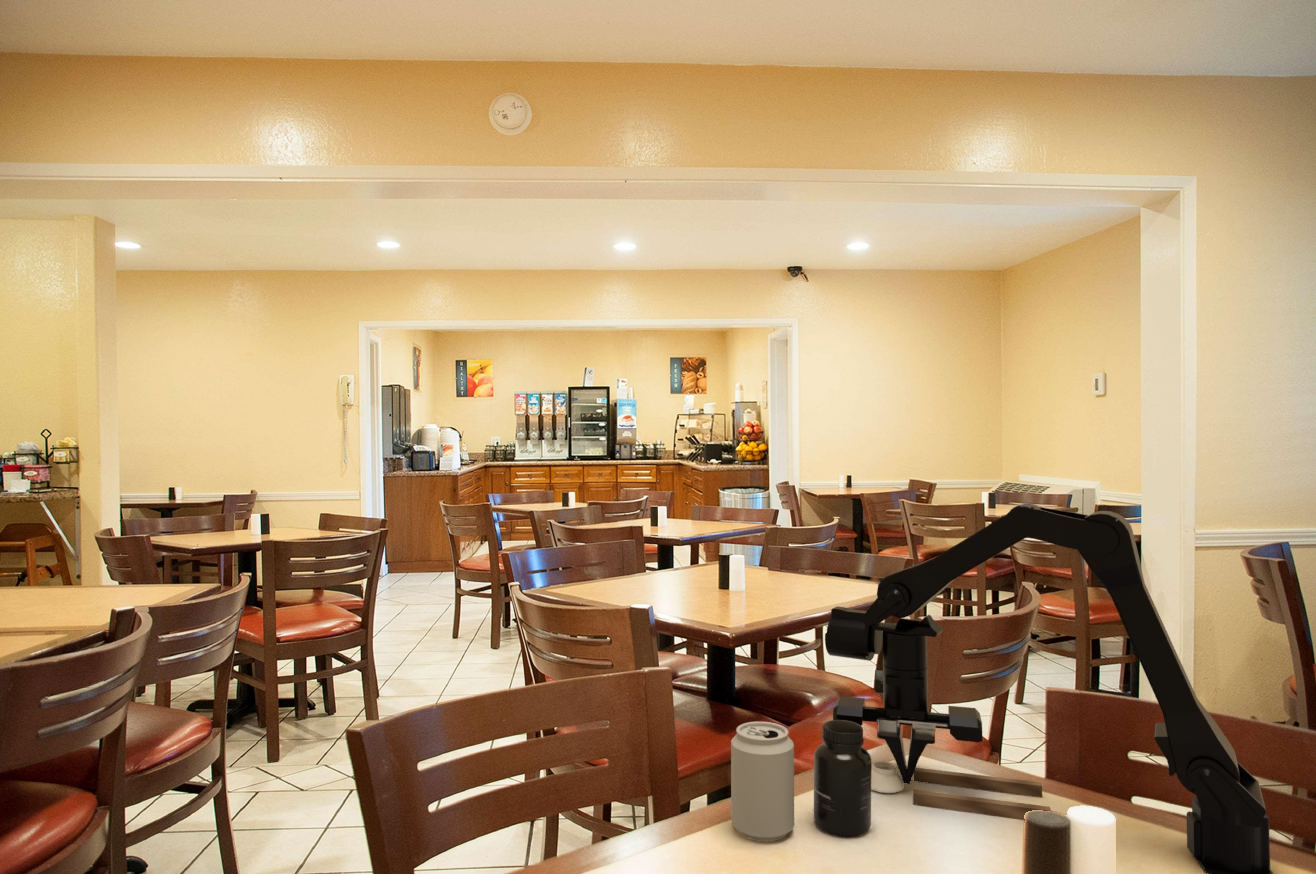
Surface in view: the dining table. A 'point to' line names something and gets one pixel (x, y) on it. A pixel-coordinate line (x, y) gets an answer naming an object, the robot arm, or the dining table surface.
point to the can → (762, 781)
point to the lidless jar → (885, 778)
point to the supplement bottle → (842, 781)
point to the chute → (976, 803)
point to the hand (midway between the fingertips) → (906, 782)
